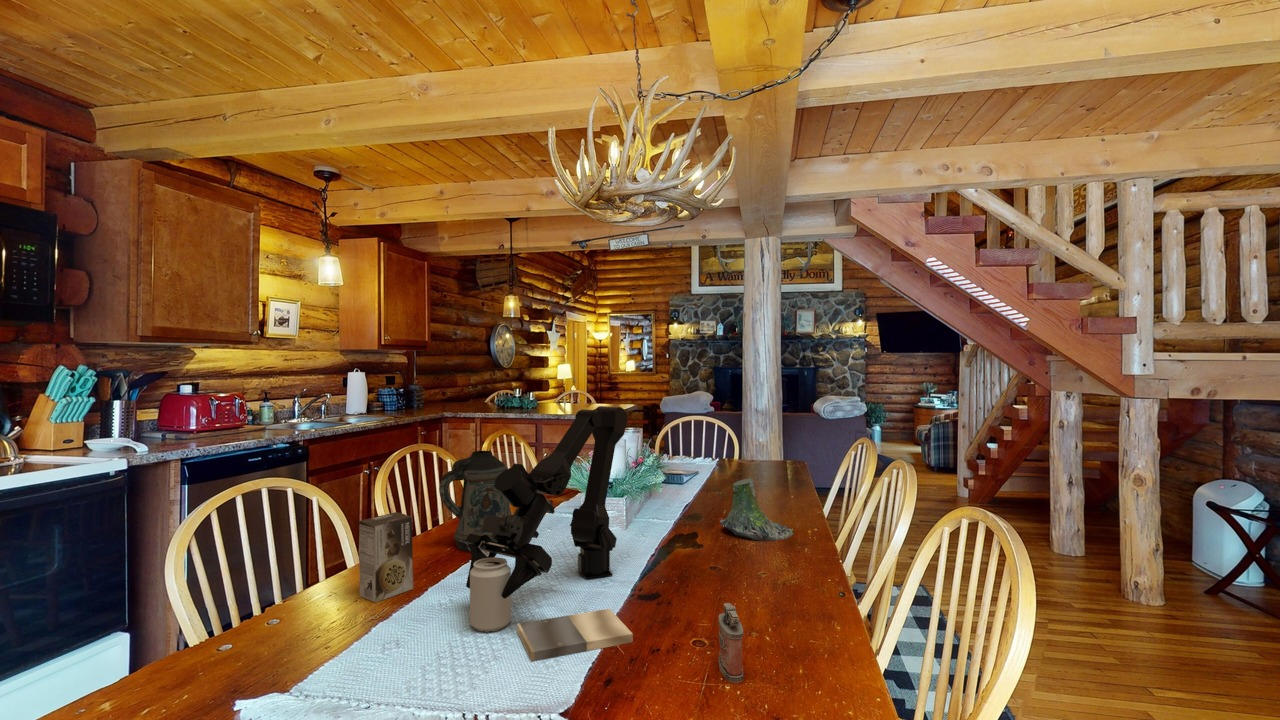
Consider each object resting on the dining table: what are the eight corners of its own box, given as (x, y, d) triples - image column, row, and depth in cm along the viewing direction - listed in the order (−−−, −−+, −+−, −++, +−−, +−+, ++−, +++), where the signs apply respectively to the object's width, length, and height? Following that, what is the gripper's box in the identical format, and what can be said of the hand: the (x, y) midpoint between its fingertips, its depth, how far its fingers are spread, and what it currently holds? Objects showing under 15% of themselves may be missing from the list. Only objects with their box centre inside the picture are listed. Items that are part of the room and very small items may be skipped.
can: (518, 619, 120) (518, 557, 120) (497, 636, 113) (496, 570, 113) (484, 614, 122) (484, 553, 122) (461, 630, 115) (461, 565, 115)
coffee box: (396, 583, 139) (396, 511, 139) (414, 589, 135) (413, 515, 135) (357, 596, 132) (357, 520, 132) (375, 603, 128) (375, 524, 128)
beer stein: (529, 541, 172) (529, 450, 171) (476, 560, 155) (475, 459, 155) (486, 532, 180) (486, 445, 180) (431, 549, 164) (431, 454, 164)
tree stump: (800, 544, 170) (785, 481, 169) (729, 560, 171) (713, 497, 171) (788, 523, 188) (774, 465, 187) (724, 537, 190) (709, 481, 189)
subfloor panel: (609, 616, 121) (609, 608, 121) (632, 642, 110) (632, 633, 110) (517, 632, 114) (517, 623, 114) (531, 661, 103) (531, 651, 103)
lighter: (715, 658, 104) (715, 598, 104) (735, 657, 105) (735, 597, 105) (725, 682, 96) (725, 618, 96) (747, 681, 97) (747, 617, 97)
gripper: (471, 491, 126) (426, 561, 116) (542, 503, 116) (498, 580, 106) (500, 522, 132) (459, 590, 123) (568, 535, 122) (530, 610, 113)
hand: (485, 592), depth 116 cm, fingers open, 9 cm apart
